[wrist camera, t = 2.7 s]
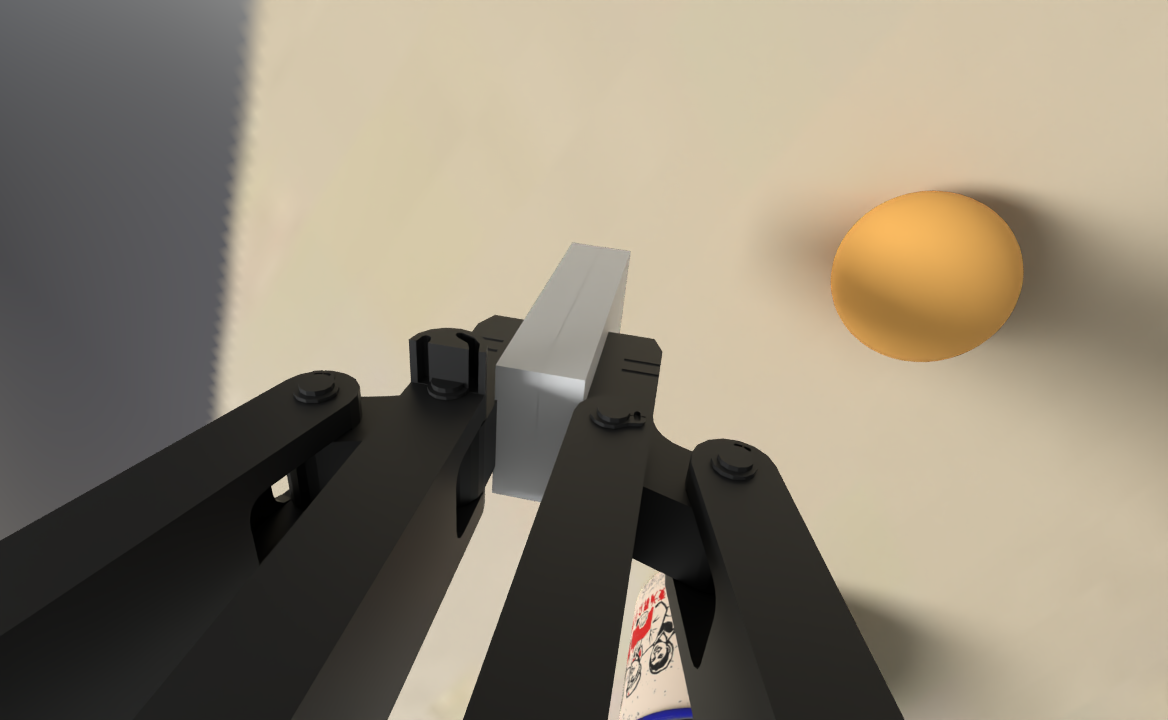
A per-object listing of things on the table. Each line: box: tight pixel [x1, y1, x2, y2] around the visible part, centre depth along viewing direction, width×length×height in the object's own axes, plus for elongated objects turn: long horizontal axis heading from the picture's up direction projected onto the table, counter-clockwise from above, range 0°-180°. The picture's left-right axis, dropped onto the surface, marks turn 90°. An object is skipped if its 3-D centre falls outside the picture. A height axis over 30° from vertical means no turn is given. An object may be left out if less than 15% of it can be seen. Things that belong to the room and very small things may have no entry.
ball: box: [831, 191, 1024, 362], centre depth 21 cm, size 6×6×6 cm
